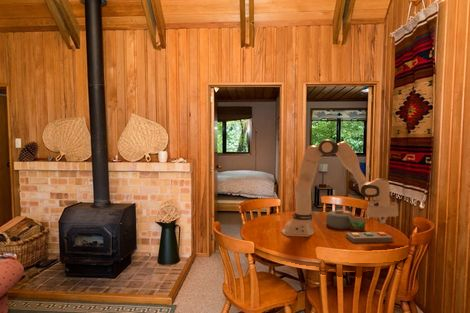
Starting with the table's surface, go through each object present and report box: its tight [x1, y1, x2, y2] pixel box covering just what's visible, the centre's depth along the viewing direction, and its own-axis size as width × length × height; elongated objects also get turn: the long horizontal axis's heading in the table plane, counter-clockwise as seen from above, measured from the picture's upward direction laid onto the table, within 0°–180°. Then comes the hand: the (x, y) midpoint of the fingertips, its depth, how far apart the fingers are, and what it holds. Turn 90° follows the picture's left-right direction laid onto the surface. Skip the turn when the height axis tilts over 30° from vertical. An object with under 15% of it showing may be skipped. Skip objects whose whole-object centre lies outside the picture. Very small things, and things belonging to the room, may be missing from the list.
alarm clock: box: [325, 209, 354, 230], centre depth 230 cm, size 19×20×12 cm
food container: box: [349, 216, 368, 232], centre depth 216 cm, size 12×6×10 cm, turn 68°
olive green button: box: [363, 231, 373, 236], centre depth 196 cm, size 4×4×2 cm
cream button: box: [350, 232, 360, 236], centre depth 196 cm, size 4×4×2 cm
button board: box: [345, 231, 394, 244], centre depth 196 cm, size 26×12×3 cm, turn 92°
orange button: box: [376, 231, 387, 236], centre depth 197 cm, size 4×4×2 cm
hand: (382, 223), depth 196 cm, fingers closed
